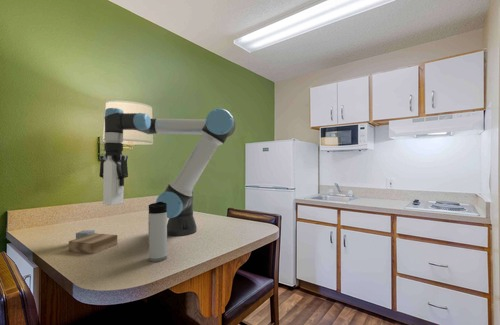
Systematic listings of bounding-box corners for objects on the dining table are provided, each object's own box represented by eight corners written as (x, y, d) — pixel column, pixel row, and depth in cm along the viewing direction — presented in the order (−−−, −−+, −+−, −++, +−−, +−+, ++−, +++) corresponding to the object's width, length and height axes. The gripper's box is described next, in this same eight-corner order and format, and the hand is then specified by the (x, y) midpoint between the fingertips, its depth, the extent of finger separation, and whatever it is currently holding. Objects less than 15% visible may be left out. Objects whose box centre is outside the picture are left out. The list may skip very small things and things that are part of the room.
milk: (102, 204, 114) (103, 155, 114) (115, 202, 119) (115, 156, 120) (111, 205, 111) (111, 155, 111) (123, 203, 116) (123, 155, 117)
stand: (117, 244, 108) (117, 235, 108) (93, 253, 96) (93, 243, 96) (94, 242, 111) (94, 233, 111) (68, 251, 99) (68, 241, 99)
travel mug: (169, 254, 95) (169, 201, 95) (164, 261, 88) (163, 204, 88) (152, 255, 94) (152, 201, 95) (145, 262, 88) (145, 204, 88)
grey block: (94, 241, 113) (94, 230, 113) (87, 244, 108) (87, 233, 108) (83, 241, 113) (83, 230, 113) (75, 244, 108) (75, 233, 108)
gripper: (137, 142, 116) (137, 193, 116) (104, 143, 122) (103, 191, 122) (124, 141, 109) (124, 194, 109) (90, 142, 115) (89, 193, 115)
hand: (113, 193), depth 115 cm, fingers closed on milk, 7 cm apart
